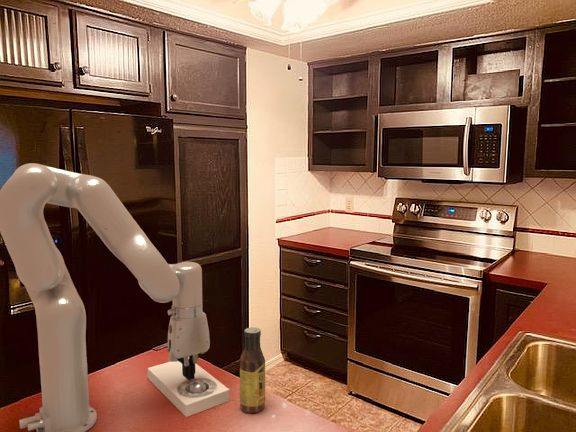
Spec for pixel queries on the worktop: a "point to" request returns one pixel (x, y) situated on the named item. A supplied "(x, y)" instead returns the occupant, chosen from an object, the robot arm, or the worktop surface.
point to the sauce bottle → (252, 373)
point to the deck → (187, 388)
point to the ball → (197, 388)
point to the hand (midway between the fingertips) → (189, 377)
